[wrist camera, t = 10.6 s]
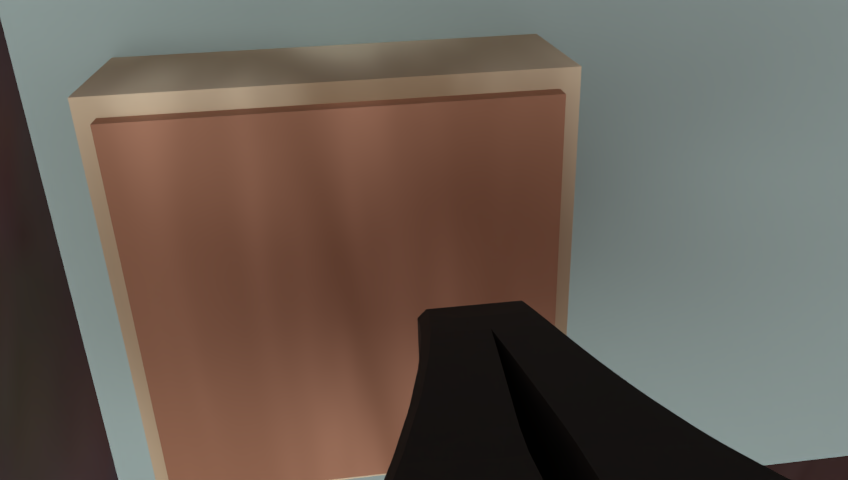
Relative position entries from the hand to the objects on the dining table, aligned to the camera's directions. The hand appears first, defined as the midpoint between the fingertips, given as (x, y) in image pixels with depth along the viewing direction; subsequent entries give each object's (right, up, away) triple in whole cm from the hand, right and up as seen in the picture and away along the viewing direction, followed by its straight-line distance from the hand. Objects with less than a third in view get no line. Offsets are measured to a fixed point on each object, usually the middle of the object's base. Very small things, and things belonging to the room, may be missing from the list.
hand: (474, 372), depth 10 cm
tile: (+2, +2, +4) cm, 4 cm away
